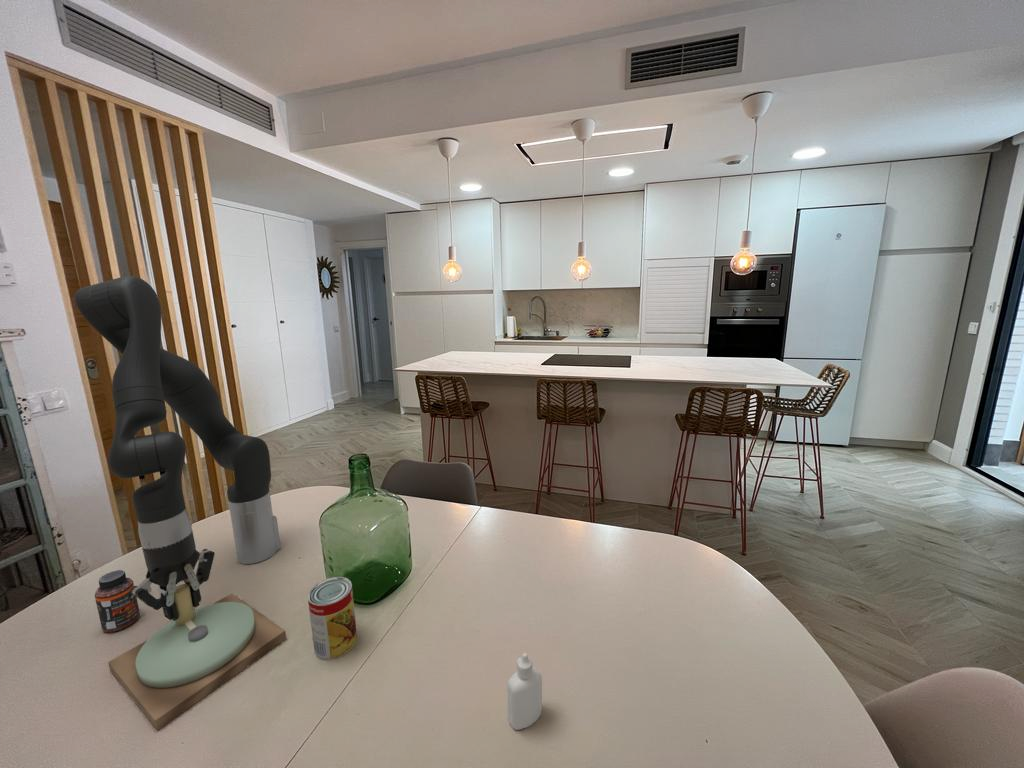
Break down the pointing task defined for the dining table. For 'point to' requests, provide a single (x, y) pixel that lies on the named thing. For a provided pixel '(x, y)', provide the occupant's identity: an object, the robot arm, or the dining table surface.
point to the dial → (194, 641)
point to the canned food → (332, 617)
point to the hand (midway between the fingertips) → (184, 611)
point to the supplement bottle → (116, 601)
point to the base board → (177, 699)
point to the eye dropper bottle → (524, 694)
